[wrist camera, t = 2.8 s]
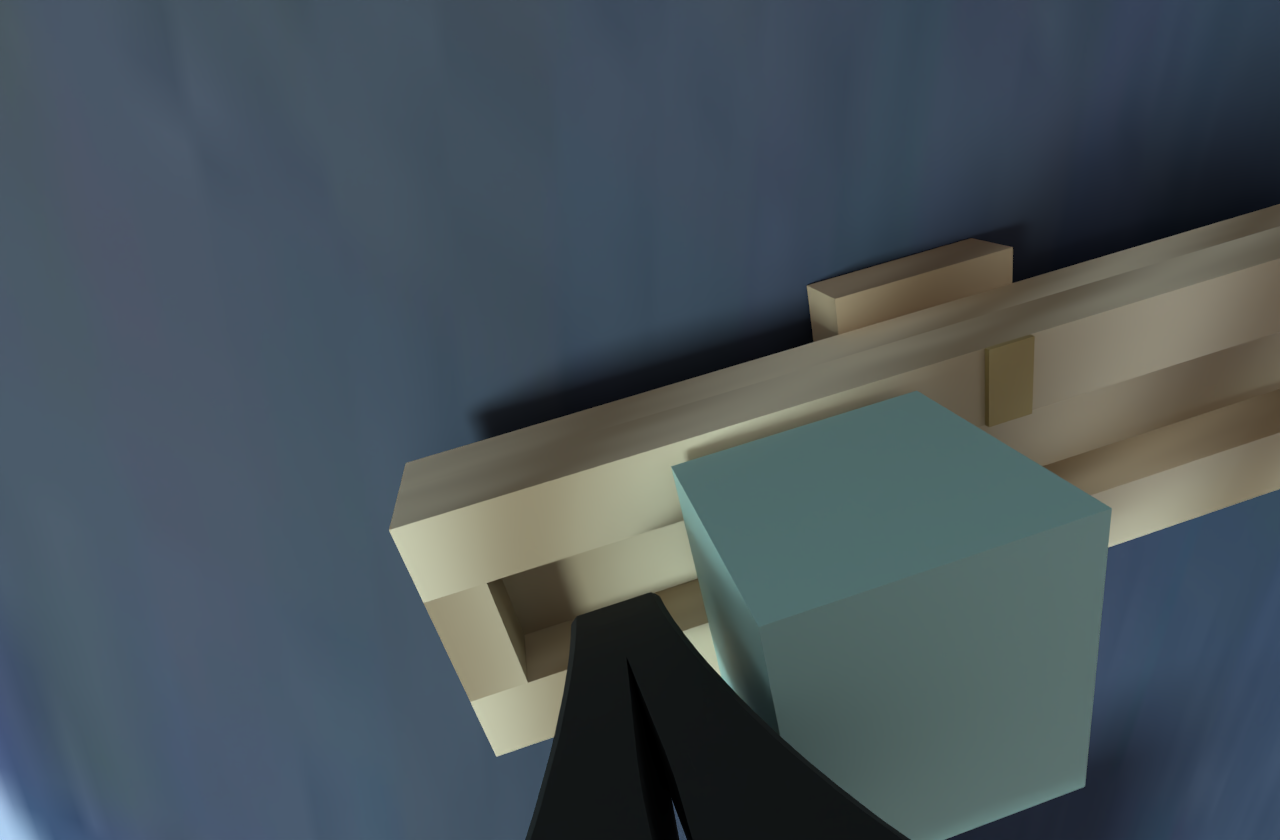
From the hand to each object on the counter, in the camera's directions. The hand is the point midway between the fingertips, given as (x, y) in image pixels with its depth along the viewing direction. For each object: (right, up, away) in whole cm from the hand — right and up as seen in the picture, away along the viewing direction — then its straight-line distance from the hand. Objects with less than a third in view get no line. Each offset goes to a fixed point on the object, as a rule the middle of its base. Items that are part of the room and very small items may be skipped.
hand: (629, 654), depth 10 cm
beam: (+6, +4, +5) cm, 9 cm away
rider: (+3, +2, +2) cm, 4 cm away
